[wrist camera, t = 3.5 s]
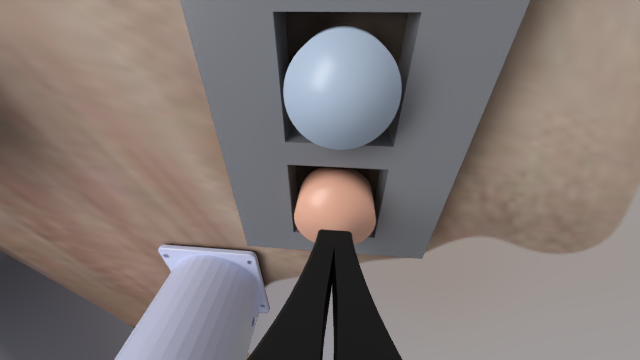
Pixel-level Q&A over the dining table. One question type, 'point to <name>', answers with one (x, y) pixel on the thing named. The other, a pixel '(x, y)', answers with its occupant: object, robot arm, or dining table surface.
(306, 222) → the terracotta button
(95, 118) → the dining table surface
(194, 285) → the robot arm
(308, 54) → the blue button
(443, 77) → the button panel
